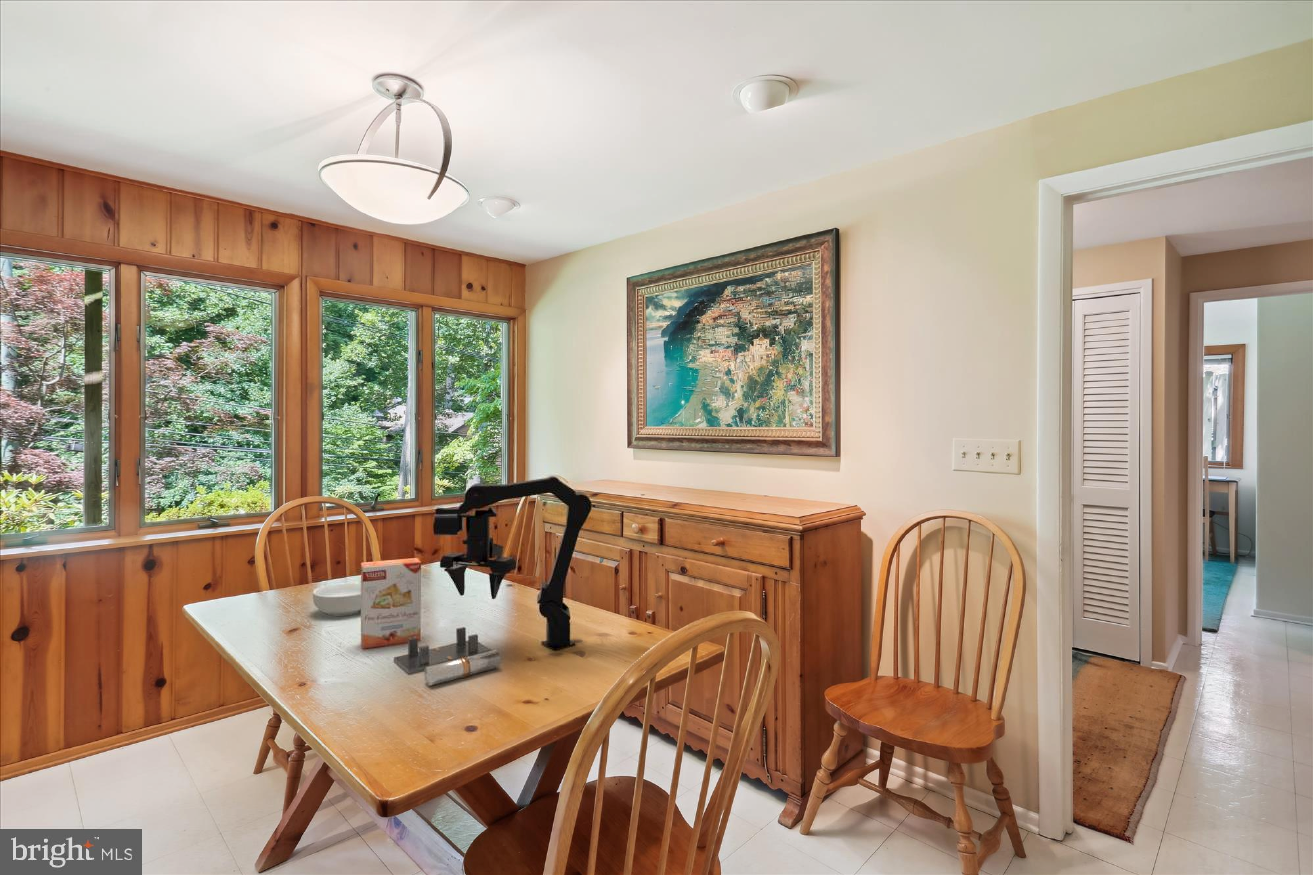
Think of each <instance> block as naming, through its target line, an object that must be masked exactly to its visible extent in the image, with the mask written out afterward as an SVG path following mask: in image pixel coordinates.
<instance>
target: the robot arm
mask: <svg viewBox="0 0 1313 875" xmlns="http://www.w3.org/2000/svg"><path fill="white" fill-rule="evenodd" d="M545 494H552V495H553V496H554V497H555V498H557V499H559V500H560V502H561V503H563V504H564V505H566V516H565V517H566V518H565V526H564V529H563V533H562V536H561V540H560V544H559V547H558V550H557V554H556V557H555V560H554V564H553V567H552V570H551V574H550V577H549V578H548V581H547V582H543V581H541V585H540V591H539V593H538V594H537V597H536V598H537V599H536V600H537V601H536V604H537V605H538V612H539V613H540V615H541V616H542V617H543V618H545V619H546V625H545V626H546V627H545V629H546V632H545V633H546V637H545V638H546V640H543V641H541V642H540V643H541V645H543V646H544V647H547V648H548V649H550V650H552V651H557V650H562V649H565V648H569V647H573V646H575V645H576V642H575V641H573V640H572V639H571V612H570V607H569V606H568V605H567V604H566V603H565V602H564V596H565V595H564V593H565V582H566V580H567V576H568V574H569V573H568V572H569V568H570V566H571V563H572V559H573V555H574V552H575V548H576V545H577V541H578V538H579V534H580V531H581V529H582V528H583V527H584V524H585V523H586V521H587V519H588V517H589V515H590V513H591V511H592V506H593V504H592V501H591V499H590V498H589V496H588V495H587V493H585V492H583V491H575V490H574V489H573V488H571V487H570V486H569V485H567V484H566V483H564V482H563V481H561V480H560V478H558V477H557V476H554V475H551V476H548V477H544V478H543V477H542V478H538V479H537V478H536V479H531V480H530V479H529V480H524V481H516V482H511V483H485V482H483V483H481V482H480V483H474V484H473V485H470V487H469V488H467V490H466V492H465V494H464V501H463V502H462V503H460V504H459V506H458V507H455V508H454V507H450V508H448V507H447V508H446V507H437V508H435V509H434V510H435V511H434V512H435V514H434V518H433V519H434V521H433V524H432V526H433V529H432V530H433V536H434V537H436V536H437V537H438V536H440V537H441V536H443V537H444V536H459V535H460V532H464V528H465V539H462V545H465V553H462V552H451V553H448V554H444V555H442V556H441V558H440V560H439V568H442V569H443V570H444V571H443V572H446V573H447V574H448V576H449V578H450V579H451V580H452V582H453V584H454V587H456V590H457V592H458V594H459V595H460V596H461V597H462V596H464V595H465V589H466V587H465V586H466V585H465V583H466V582H465V579H466V578H465V576H466V575H465V574H466V571H467V567H468V566H470V567H480V568H482V567H483V568H489V570H490V572H489V573H488V578H489V579H488V580H489V590H490V596H491V599H492V600H495V599H497V595H498V592H499V590H500V587H501V584H502V583H503V582H502V581H504V580H503V579H504V578H505V577H506V575H507V574H509V573H511V572H512V571H514V570H517V562H516V559H515V558H514V557H510V556H509V557H508V556H503V551H504V546H503V545H500V544H497V543H494V538H493V537H492V536H491V532H490V531H491V530H490V529H491V527H490V525H491V524H490V522H491V521H490V520H491V518H496V517H497V516H498V511H496V510H495V509H494V508H493V507H492V505H495V504H496V503H499V502H502V501H505V500H512V499H518V498H525V497H531V496H538V495H545ZM486 507H488V509H483V508H486ZM473 509H474V510H475V511H474V513H473V512H471V513H470V511H472V510H473Z"/></svg>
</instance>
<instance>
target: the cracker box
mask: <svg viewBox="0 0 1313 875" xmlns="http://www.w3.org/2000/svg"><path fill="white" fill-rule="evenodd" d="M360 583H361V610H360V643H361V649H363V650H365V649H371V648H377V647H378V648H379V647H384V646H393V645H397V644H398V645H399V644H406V643H407V644H408V639H411V638H415V637H417V638H418V642H419V641H421V637H422V636H421V634H422V633H421V629H422V628H421V627H422V626H421V623H422V622H421V620H422V617H421V615H422V612H421V610H422V607H421V606H422V597H421V596H422V563H421V560H420V559H419V558H418V557H413V558H410V557H409V558H400V559H399V558H398V559H390V560H389V559H387V560H376V561H365V562H363V561H362V562H361V563H360Z"/></svg>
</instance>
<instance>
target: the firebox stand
mask: <svg viewBox="0 0 1313 875" xmlns="http://www.w3.org/2000/svg"><path fill="white" fill-rule="evenodd" d="M466 629H467V628H466V627H465V626H463V627H457V628H456V641H455V642H456V643H451V644H445V645H442V646H438V647H433V648H430V646H429V645H422V646H419V641H418V638H417V637H415V638H411V639H408V642H407V654H404V655H398V656H394V657H393V662H394V664H396V665H397V666H398V667H399V668H400V669H401V670H402V671H404V672H405V673H406V674H407V675H413V674H417V673H420V672H424V670H425V668H426V667H428V666H432V665H436V664H440V663H444V662H448V661H453V660H457V659H460V658H464V657H469V656H473V655H477V654H481V653H485V652H489V651H492V649H490V648H489V647H487V646H485V645H484V644H482V643H481V642H479V635H478V634H477V633H476V634H471V635H468V637H467V635H466V634H467V632H466V631H467V630H466ZM467 639H468V640H467Z"/></svg>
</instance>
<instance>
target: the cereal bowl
mask: <svg viewBox="0 0 1313 875" xmlns="http://www.w3.org/2000/svg"><path fill="white" fill-rule="evenodd" d="M312 601H313V605H314V606H315V607H316V609H318V610H319V611H320V612H324V613H327V614H329V615H330V616H333V617H344V616H350V615H354V614H357V613H359V611H361V582H356V581H355V582H341V583H340V582H339V583H332V584H327V585H323V586H319V587H318V588H317V587H316V588H315V589H314V590H313V591H312Z"/></svg>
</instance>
